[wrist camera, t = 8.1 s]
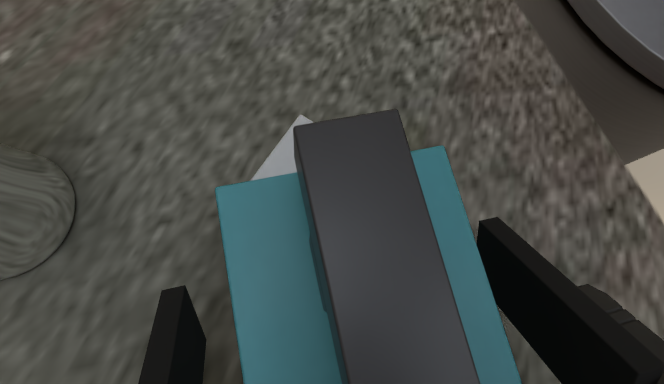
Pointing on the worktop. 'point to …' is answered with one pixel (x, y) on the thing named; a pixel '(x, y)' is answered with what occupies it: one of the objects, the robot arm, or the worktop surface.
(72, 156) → the worktop surface
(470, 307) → the teal slab with bar
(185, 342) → the robot arm
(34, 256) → the beer glass
